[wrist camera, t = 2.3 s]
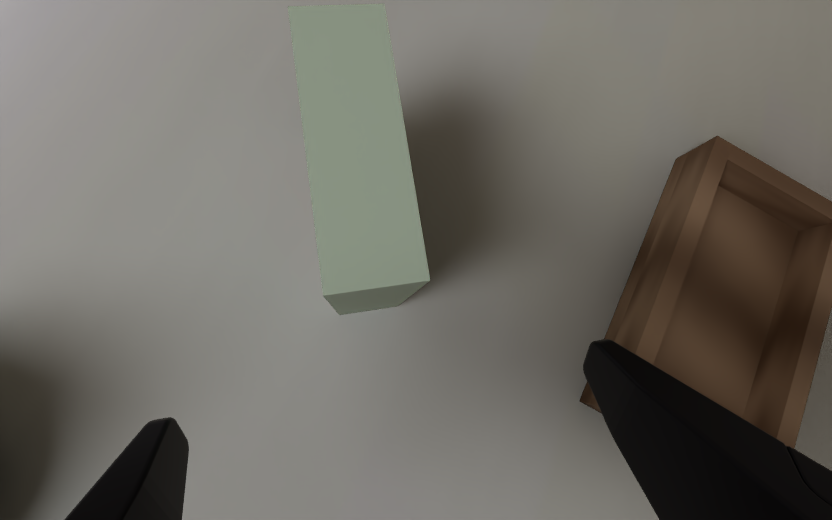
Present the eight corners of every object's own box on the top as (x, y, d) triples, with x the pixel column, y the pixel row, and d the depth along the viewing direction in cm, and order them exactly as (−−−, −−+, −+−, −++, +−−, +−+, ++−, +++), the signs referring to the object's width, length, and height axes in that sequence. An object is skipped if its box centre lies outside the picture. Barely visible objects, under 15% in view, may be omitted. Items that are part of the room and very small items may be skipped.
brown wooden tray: (724, 480, 22) (780, 502, 19) (579, 401, 22) (613, 411, 19) (799, 229, 26) (855, 215, 23) (676, 158, 25) (717, 135, 22)
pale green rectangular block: (397, 306, 21) (430, 280, 12) (339, 315, 21) (323, 295, 11) (373, 145, 23) (384, 3, 13) (318, 150, 22) (287, 6, 13)
